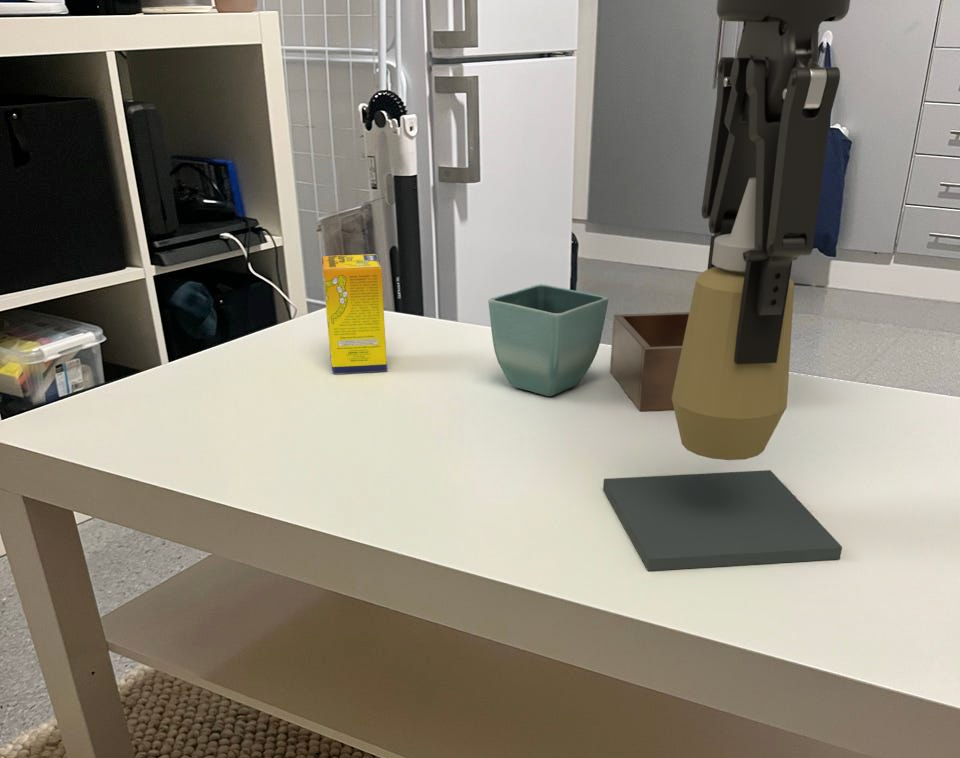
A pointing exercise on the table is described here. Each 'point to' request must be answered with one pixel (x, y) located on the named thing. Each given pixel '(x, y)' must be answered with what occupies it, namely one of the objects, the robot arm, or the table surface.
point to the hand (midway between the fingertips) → (736, 345)
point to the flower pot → (546, 336)
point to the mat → (717, 520)
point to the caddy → (648, 356)
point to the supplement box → (355, 313)
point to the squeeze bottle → (728, 358)
